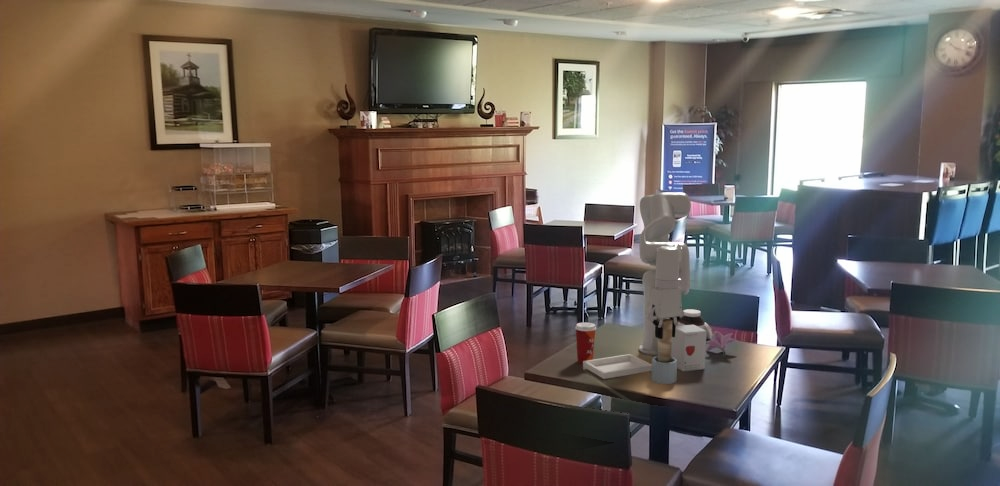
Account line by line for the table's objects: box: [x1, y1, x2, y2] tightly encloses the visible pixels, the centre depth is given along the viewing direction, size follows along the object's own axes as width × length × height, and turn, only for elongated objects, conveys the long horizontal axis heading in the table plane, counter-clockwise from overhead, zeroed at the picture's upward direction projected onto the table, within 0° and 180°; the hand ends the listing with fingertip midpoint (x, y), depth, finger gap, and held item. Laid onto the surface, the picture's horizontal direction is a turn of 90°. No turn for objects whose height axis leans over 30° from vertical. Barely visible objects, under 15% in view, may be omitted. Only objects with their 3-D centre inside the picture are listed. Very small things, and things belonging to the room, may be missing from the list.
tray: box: [582, 353, 652, 380], centre depth 257 cm, size 20×14×3 cm
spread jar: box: [677, 308, 713, 340], centre depth 294 cm, size 12×11×12 cm
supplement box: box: [671, 325, 707, 372], centre depth 258 cm, size 9×9×15 cm
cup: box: [650, 355, 678, 385], centre depth 245 cm, size 8×8×8 cm
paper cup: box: [574, 322, 597, 365], centre depth 266 cm, size 8×8×14 cm
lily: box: [705, 330, 738, 358], centre depth 274 cm, size 12×12×10 cm
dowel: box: [657, 318, 672, 363], centre depth 244 cm, size 4×4×14 cm
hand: (665, 336), depth 243 cm, fingers closed on dowel, 4 cm apart
